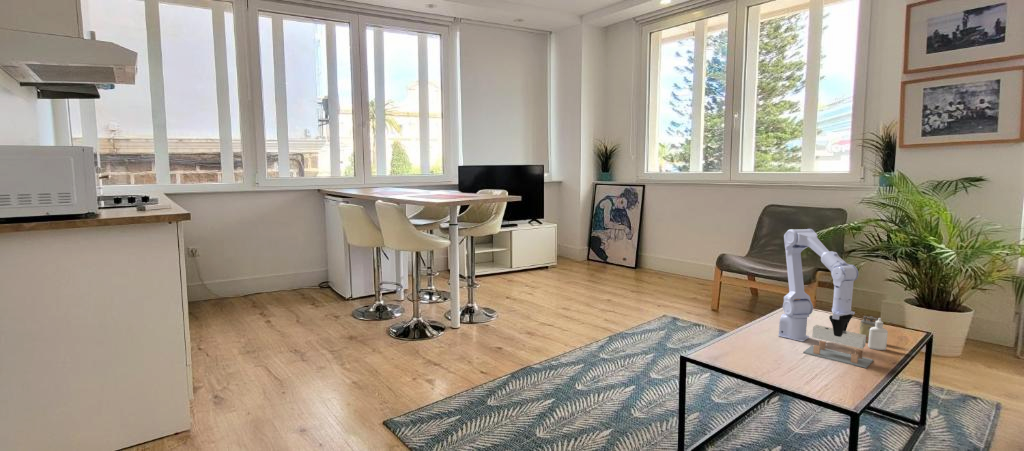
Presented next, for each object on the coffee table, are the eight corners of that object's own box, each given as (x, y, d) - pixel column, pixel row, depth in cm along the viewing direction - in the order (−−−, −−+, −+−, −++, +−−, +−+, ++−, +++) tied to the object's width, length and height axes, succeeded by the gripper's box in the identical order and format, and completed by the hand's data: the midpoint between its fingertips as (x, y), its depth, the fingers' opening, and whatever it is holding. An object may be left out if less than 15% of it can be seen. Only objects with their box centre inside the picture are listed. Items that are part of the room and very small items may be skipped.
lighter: (880, 342, 209) (882, 318, 208) (879, 345, 207) (881, 320, 205) (859, 338, 214) (861, 314, 213) (857, 340, 211) (859, 316, 210)
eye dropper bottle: (883, 352, 199) (886, 321, 198) (866, 347, 204) (869, 317, 202) (887, 349, 202) (890, 318, 200) (870, 345, 206) (873, 315, 205)
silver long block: (865, 345, 189) (866, 334, 188) (862, 348, 186) (863, 337, 186) (815, 335, 200) (816, 324, 200) (812, 337, 197) (813, 326, 197)
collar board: (803, 353, 197) (803, 344, 197) (811, 346, 204) (812, 337, 204) (866, 368, 183) (867, 358, 183) (873, 360, 190) (874, 351, 190)
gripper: (850, 304, 183) (846, 342, 185) (860, 296, 193) (857, 332, 195) (827, 300, 188) (824, 337, 190) (838, 293, 198) (835, 328, 200)
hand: (839, 334), depth 193 cm, fingers closed on silver long block, 4 cm apart
